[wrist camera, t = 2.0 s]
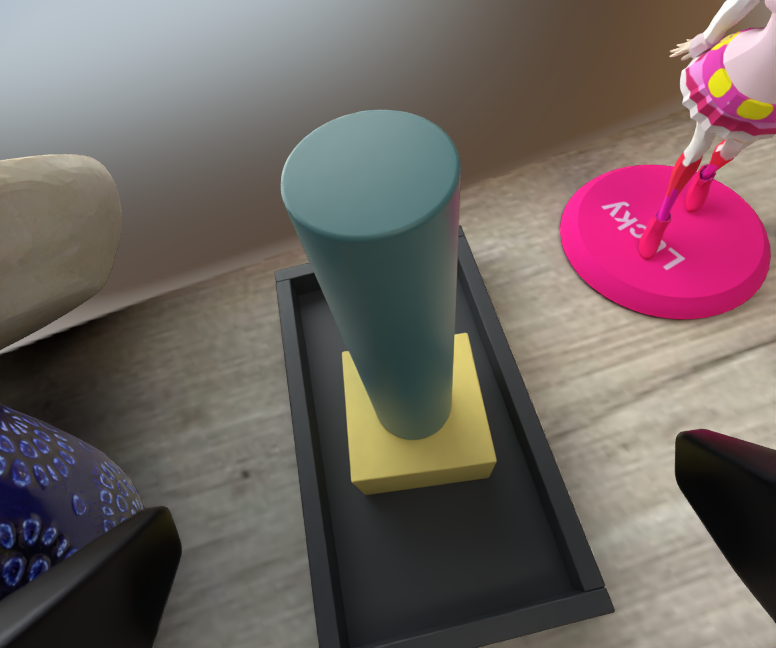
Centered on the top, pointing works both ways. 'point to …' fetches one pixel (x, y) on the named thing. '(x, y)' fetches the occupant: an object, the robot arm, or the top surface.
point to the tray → (432, 503)
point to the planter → (53, 497)
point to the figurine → (686, 190)
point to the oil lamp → (53, 238)
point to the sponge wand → (393, 294)
